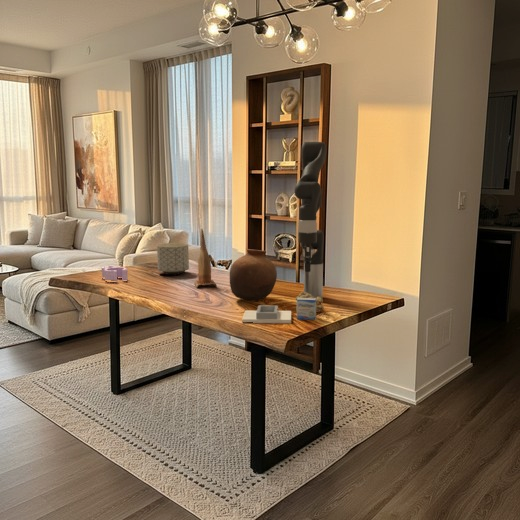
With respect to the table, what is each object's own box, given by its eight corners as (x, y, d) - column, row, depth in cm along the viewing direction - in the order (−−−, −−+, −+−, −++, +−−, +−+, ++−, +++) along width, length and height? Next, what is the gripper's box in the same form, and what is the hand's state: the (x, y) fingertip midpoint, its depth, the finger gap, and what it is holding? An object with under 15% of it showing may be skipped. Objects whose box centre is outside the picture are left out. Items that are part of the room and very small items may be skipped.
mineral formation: (294, 314, 221) (290, 303, 235) (324, 318, 222) (318, 307, 237) (297, 296, 219) (293, 287, 234) (328, 301, 220) (322, 291, 235)
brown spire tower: (213, 283, 287) (211, 227, 283) (217, 287, 276) (215, 228, 272) (193, 285, 285) (191, 228, 280) (196, 289, 273) (194, 229, 269)
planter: (190, 270, 327) (189, 242, 324) (188, 276, 308) (187, 246, 305) (160, 271, 325) (159, 243, 322) (156, 277, 307) (154, 247, 304)
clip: (96, 278, 304) (96, 267, 302) (116, 276, 312) (115, 265, 311) (111, 284, 289) (110, 272, 288) (131, 280, 297) (131, 269, 296)
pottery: (225, 305, 238) (224, 252, 234) (234, 293, 261) (234, 245, 257) (274, 306, 235) (273, 252, 231) (279, 294, 258) (279, 245, 253)
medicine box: (296, 319, 213) (296, 299, 212) (297, 316, 217) (297, 297, 216) (315, 320, 212) (315, 300, 210) (316, 317, 216) (316, 297, 215)
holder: (245, 313, 223) (245, 304, 222) (291, 314, 221) (291, 305, 221) (242, 322, 209) (241, 313, 208) (290, 323, 208) (290, 313, 207)
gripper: (298, 229, 216) (298, 267, 219) (298, 232, 202) (298, 273, 205) (316, 229, 216) (316, 267, 218) (317, 232, 202) (317, 273, 204)
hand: (307, 270), depth 211 cm, fingers open, 8 cm apart
